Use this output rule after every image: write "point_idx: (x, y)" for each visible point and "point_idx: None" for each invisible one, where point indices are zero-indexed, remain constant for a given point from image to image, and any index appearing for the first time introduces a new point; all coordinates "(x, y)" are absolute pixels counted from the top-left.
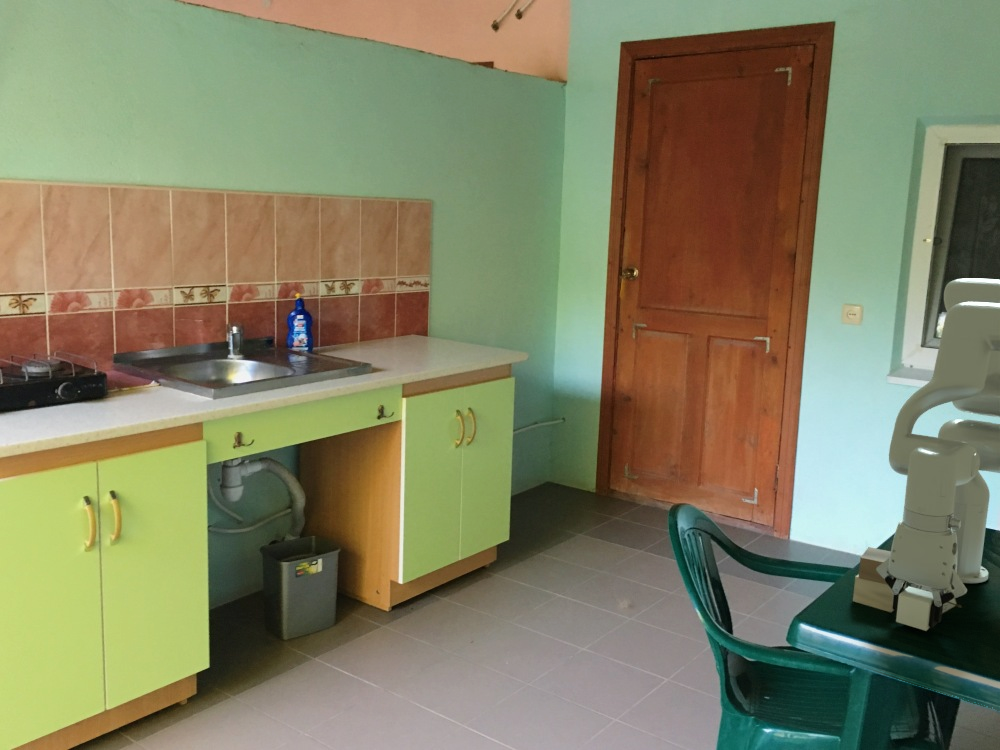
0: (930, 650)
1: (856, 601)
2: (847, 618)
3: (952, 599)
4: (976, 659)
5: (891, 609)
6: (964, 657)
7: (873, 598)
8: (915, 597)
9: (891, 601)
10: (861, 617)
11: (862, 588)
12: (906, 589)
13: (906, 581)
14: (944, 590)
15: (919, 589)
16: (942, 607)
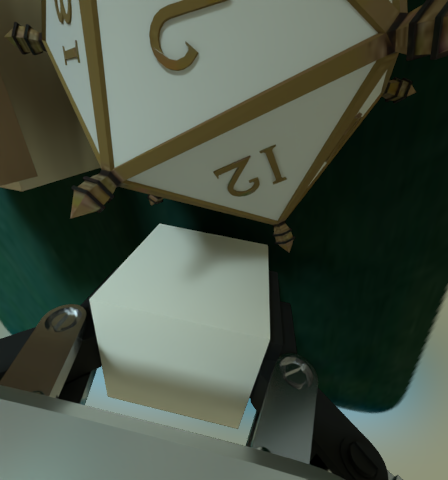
0: None
1: None
2: (55, 282)
3: (362, 113)
4: (379, 359)
5: None
6: (348, 360)
7: None
8: (172, 400)
9: (79, 172)
10: (73, 258)
11: None
12: (103, 344)
13: (63, 379)
14: (308, 443)
15: (154, 319)
16: (294, 351)
